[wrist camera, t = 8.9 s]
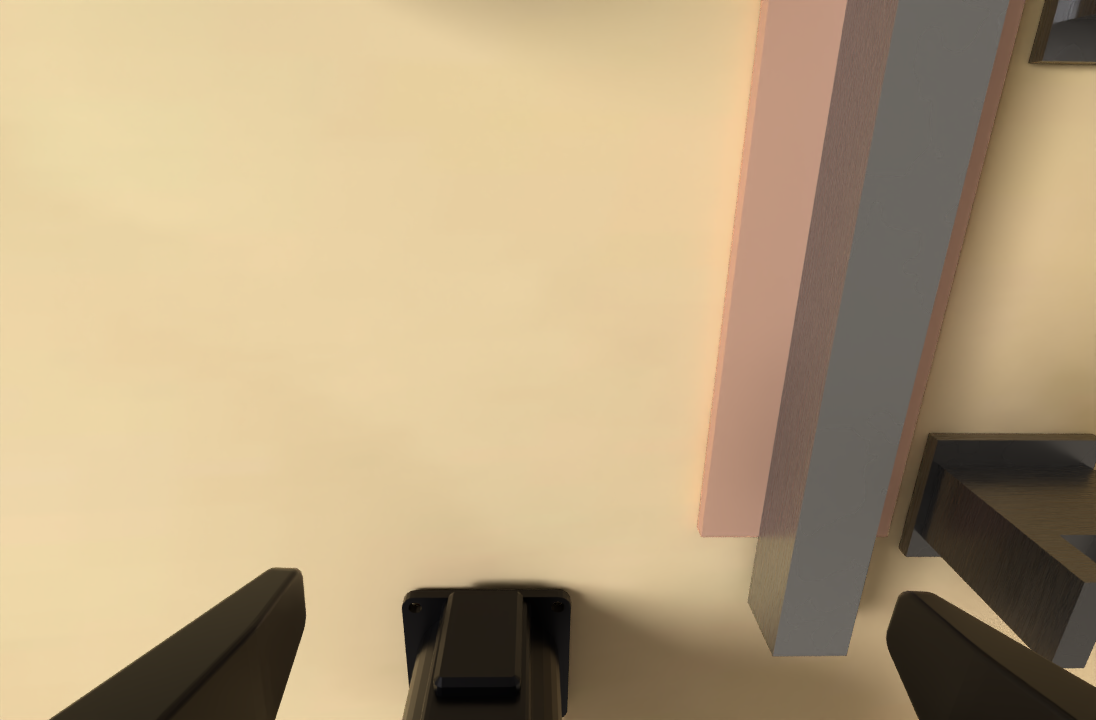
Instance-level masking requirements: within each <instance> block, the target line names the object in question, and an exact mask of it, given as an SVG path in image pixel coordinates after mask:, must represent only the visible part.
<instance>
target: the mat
mask: <svg viewBox="0 0 1096 720" xmlns="http://www.w3.org/2000/svg"><path fill="white" fill-rule="evenodd" d="M1025 1H1026V0H1009V4H1008V8H1007V12H1006V16H1005V20H1004V24H1003V28H1002V33H1001V37H1000V41H999V45H998V49H997V53H996V57H995V61H994V65H993V69H992V73H991V77H990V81H989V85H988V89H987V93H986V97H985V101H984V105H983V109H982V113H981V117H980V121H979V125H978V129H977V133H976V137H975V141H974V145H973V149H972V153H971V157H970V161H969V165H968V169H967V173H966V177H965V181H964V185H963V189H962V193H961V197H960V201H959V205H958V209H957V213H956V217H955V221H954V225H953V229H952V233H951V237H950V241H949V245H948V249H947V253H946V257H945V262H944V266H943V270H942V274H941V278H940V282H939V286H938V290H937V294H936V298H935V302H934V306H933V310H932V314H931V318H930V322H929V326H928V330H927V334H926V338H925V342H924V346H923V350H922V354H921V358H920V362H919V366H918V370H917V374H916V378H915V382H914V386H913V390H912V394H911V398H910V402H909V406H908V410H907V414H906V418H905V422H904V426H903V430H902V434H901V438H900V442H899V446H898V450H897V454H896V458H895V462H894V466H893V470H892V474H891V478H890V482H889V486H888V490H887V495H886V499H885V503H884V507H883V511H882V515H881V519H880V523H879V527H878V531H877V535H876V537H887V536H888V532H889V528H890V524H891V521H892V517H893V513H894V509H895V505H896V501H897V497H898V493H899V489H900V486H901V482H902V478H903V474H904V470H905V466H906V462H907V458H908V455H909V451H910V447H911V443H912V439H913V435H914V431H915V427H916V423H917V420H918V416H919V412H920V408H921V404H922V400H923V396H924V392H925V389H926V385H927V381H928V377H929V373H930V369H931V365H932V361H933V358H934V354H935V350H936V346H937V342H938V338H939V334H940V330H941V326H942V323H943V319H944V315H945V311H946V307H947V303H948V299H949V295H950V292H951V288H952V284H953V280H954V276H955V272H956V268H957V264H958V261H959V257H960V253H961V249H962V245H963V241H964V237H965V233H966V229H967V226H968V222H969V218H970V214H971V210H972V206H973V202H974V198H975V195H976V191H977V187H978V183H979V179H980V175H981V171H982V167H983V164H984V160H985V156H986V152H987V148H988V144H989V140H990V136H991V132H992V129H993V125H994V121H995V117H996V113H997V109H998V105H999V101H1000V98H1001V94H1002V90H1003V86H1004V82H1005V78H1006V74H1007V70H1008V67H1009V63H1010V59H1011V55H1012V51H1013V47H1014V43H1015V39H1016V35H1017V32H1018V28H1019V24H1020V20H1021V16H1022V12H1023V8H1024V4H1025ZM846 5H847V0H761V8H760V16H759V25H758V33H757V41H756V49H755V57H754V65H753V74H752V82H751V90H750V98H749V106H748V115H747V123H746V131H745V139H744V147H743V156H742V164H741V172H740V180H739V188H738V196H737V205H736V213H735V221H734V229H733V237H732V246H731V254H730V262H729V270H728V278H727V287H726V295H725V303H724V311H723V319H722V327H721V336H720V344H719V352H718V360H717V368H716V377H715V385H714V393H713V401H712V409H711V418H710V426H709V434H708V442H707V450H706V459H705V467H704V475H703V483H702V491H701V499H700V508H699V516H698V524H697V528H698V530H699V533H700V535H701V537H758V536H759V530H760V524H761V518H762V512H763V506H764V500H765V494H766V488H767V482H768V476H769V470H770V464H771V458H772V452H773V446H774V440H775V434H776V428H777V422H778V415H779V409H780V403H781V397H782V391H783V385H784V379H785V373H786V367H787V361H788V355H789V349H790V343H791V337H792V331H793V325H794V319H795V313H796V307H797V301H798V295H799V289H800V283H801V277H802V271H803V265H804V258H805V252H806V246H807V240H808V234H809V228H810V222H811V216H812V210H813V204H814V198H815V192H816V186H817V180H818V174H819V168H820V162H821V156H822V150H823V144H824V138H825V132H826V126H827V120H828V114H829V108H830V101H831V95H832V89H833V83H834V77H835V71H836V65H837V59H838V53H839V47H840V41H841V35H842V29H843V23H844V17H845V11H846Z"/></svg>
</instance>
